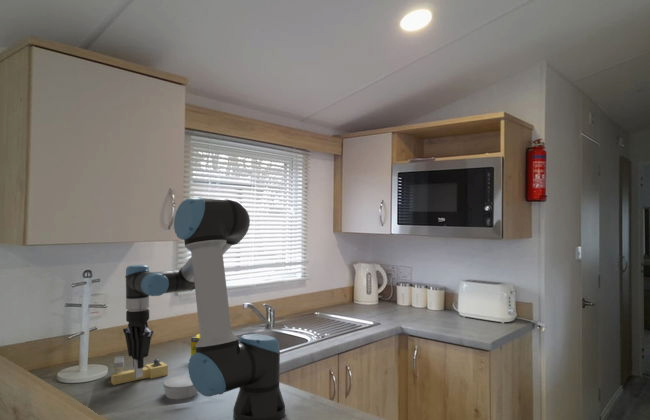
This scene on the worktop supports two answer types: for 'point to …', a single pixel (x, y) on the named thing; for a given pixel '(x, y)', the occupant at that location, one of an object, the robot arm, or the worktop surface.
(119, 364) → the keeper
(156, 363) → the pintle post
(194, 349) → the supplement box
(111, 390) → the worktop surface
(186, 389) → the ramekin
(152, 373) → the link
